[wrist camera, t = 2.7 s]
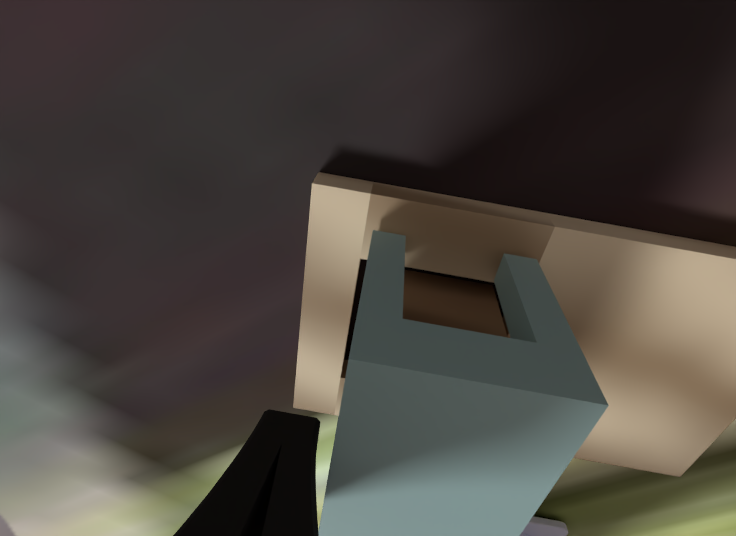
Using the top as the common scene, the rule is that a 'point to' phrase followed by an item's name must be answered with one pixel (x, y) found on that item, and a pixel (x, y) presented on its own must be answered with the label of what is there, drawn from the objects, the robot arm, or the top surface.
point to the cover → (455, 410)
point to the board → (574, 294)
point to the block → (452, 303)
